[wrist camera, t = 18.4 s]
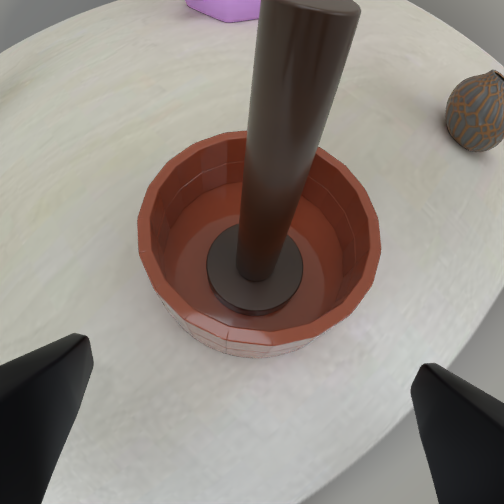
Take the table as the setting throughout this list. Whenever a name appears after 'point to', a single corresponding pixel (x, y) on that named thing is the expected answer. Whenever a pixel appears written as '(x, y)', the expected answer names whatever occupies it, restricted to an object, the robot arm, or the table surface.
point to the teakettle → (228, 9)
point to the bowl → (227, 214)
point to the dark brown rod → (280, 148)
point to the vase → (477, 112)
